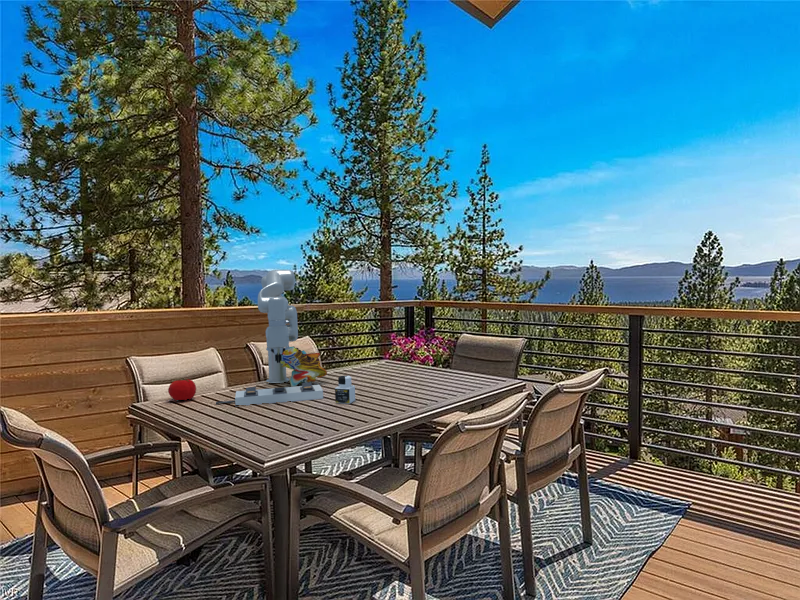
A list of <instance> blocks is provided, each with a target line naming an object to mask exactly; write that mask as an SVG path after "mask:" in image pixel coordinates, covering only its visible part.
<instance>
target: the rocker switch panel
mask: <svg viewBox="0 0 800 600" xmlns="http://www.w3.org/2000/svg"><path fill="white" fill-rule="evenodd" d="M283 387H284V388H285V390H283V391H275V389H274V388H275V387H273V388H272V387H271V388H262V389H260V388H259V389H256V394H255V395H246V390H236V391H235V397H234V400H223V401H216V402H215V403H216V404H218V403H229V404H232V403H231V402H235V403H234V404H235V405H246V406H251V405H250V404H257V405H263V404H262V403H269V404H277V403H276V402H280V403H288V402H287V401H291V402H301V401H302V402H303V401H314V400H323V399H324V389H323V388H322V386H321V385H320V384H312V388H313V390H304V391H303V388H302V385H299V386H298V385H296V386H295V387H292V386H287V387H286V386H283ZM216 404H215V405H216ZM218 405H219V404H218Z"/></svg>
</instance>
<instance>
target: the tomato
mask: <svg viewBox="0 0 800 600" xmlns="http://www.w3.org/2000/svg"><path fill="white" fill-rule="evenodd" d="M196 385H197V384H196V383H195V382H194V381H193V380H192V379H190V378H183V377H182V379H177V380H174V381H172V382H171V383H170V385H169V386H168V389H167V392H168V394H169V396H170V397H171V398H172V399H173V400H175V401H177V400H185V401H188V400H187V399H189V400H192V399H193V398H194V396H195V395H196V393H197V387H196ZM191 398H192V399H191Z"/></svg>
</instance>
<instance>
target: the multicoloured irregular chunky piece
mask: <svg viewBox="0 0 800 600" xmlns="http://www.w3.org/2000/svg"><path fill="white" fill-rule="evenodd" d="M289 347H290V349H288V350H285V351H284V352H283V353H282V361H280V362H281V364H283V366H282V367H286V369H290V370H292V371H291V377H289V383H290V387H296V386H298V384H302V383H310V382H311V384H312V385H313V384H314V383H315V382H316V378H319V379H320V378H323V377H325V376H327V373H328V371H327V370H326V369H325V368H324V367H322V366H321V364H322V363H321V361H320V360H321V359H320V358H319V357H321V353H320V352H313V353H307V352H306V351H305V350H301V349H299V347H296V346H289Z"/></svg>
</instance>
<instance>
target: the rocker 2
mask: <svg viewBox="0 0 800 600" xmlns="http://www.w3.org/2000/svg"><path fill="white" fill-rule="evenodd" d="M312 385H313V383H312V384H311V382H310V383H305V382H302V383H301V386H302V388H303V391H304V390H313V388H312Z"/></svg>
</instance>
